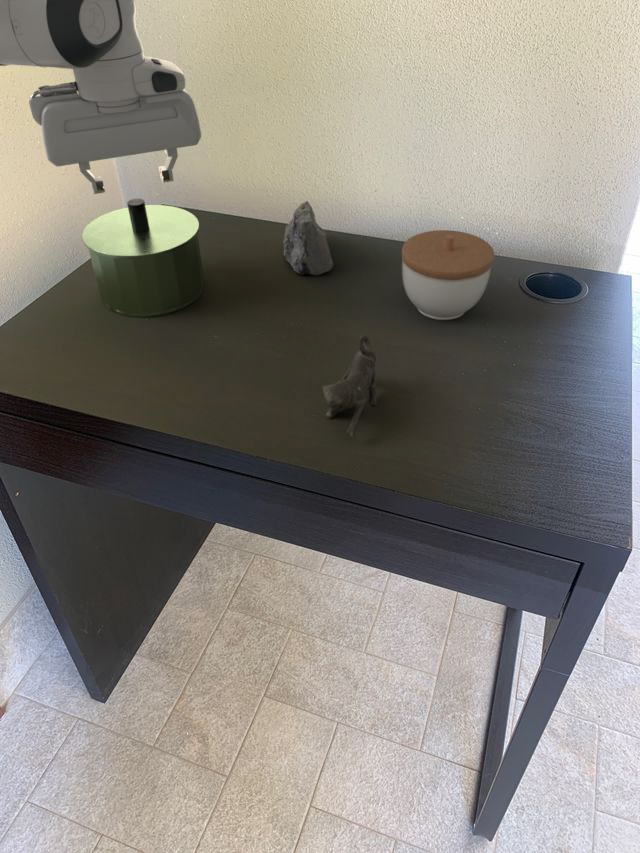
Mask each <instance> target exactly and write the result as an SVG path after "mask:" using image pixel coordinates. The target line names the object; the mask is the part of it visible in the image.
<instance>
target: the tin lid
mask: <svg viewBox="0 0 640 853" xmlns="http://www.w3.org/2000/svg"><path fill="white" fill-rule="evenodd" d="M126 204H127V207H123V208H120V209H119V208H118V209H116V210H112V211H109V212H107V213H104V214H102V215H100V216H98V217H96V218H95V219H93V220H91V221H90V222H89V223H88V224H86V226H85V227H84V229H83V230H82V233H81V240H82V243H83V245H84V247H85V248H86V249H87V250H88V249H89V250H90V251H92V252H93V253H95V254H98V255H101V256H105V257H109V258H116V259H141V258H149V257H155V256H159V255H163V254H166V253H170V252H172V251H175V250H177V249H180V248H182V247H183V246H185V245H187V244H188V243H190V242H191V241H192V240H193V239H194V238H195V237H196V236H197V234H198V235H199V232H200V222H199V220H198V218H197V217H196V215H194V214H193V213H191V212H190V211H188V210H185V209H183V208H181V207H176V206H173V205H172V206H171V205H164V204H146V202H145V200H144V199H143V198H132V199H129V200H128V201H127V202H126ZM89 250H88V251H89Z"/></svg>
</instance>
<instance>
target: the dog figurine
mask: <svg viewBox="0 0 640 853" xmlns="http://www.w3.org/2000/svg"><path fill="white" fill-rule="evenodd" d="M357 345H358V349H359V350H358V351H357V352H356V353H355V354H354V356H353V358H352V360H351V363H350V365H349V366H348V368H347V370H346V372H345V373H344V374H343V375H342V377H341V379H340V380H338V382H335V383H331V384H325V385H323V386H322V392H323V396H324V397H323V398H324V400H325V402H326V405H327V406H329V408H328V411H327V412H326V414H325V416H326V418H328V419H333V418H335V416H337V414H338V413H339V411H340V410H342V409H343V408H344V409H345V410H351V409H353V408H354V410H353V414H352V415H353V416H352V418H351V421H350V423H349V427H348V428H347V430H346V434H347V436H349V437H352V438H353V437H355V436H356V434H357V431H356V430H357V428H358V424H359V420H360V417H361V415H362V412H363V410H364V409H365V406H366V404H367V401H368V405H369V406H376V405H377V404H378V401H377V383H376V361H377V358H376V354H375V352H374V351H373V350H372V349H371V340H370V339H369V337H368V336H366V334H364V335H361V336H360V337H359V339H358V344H357Z"/></svg>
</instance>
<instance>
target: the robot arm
mask: <svg viewBox="0 0 640 853" xmlns="http://www.w3.org/2000/svg"><path fill="white" fill-rule="evenodd" d="M136 14H137V6H136V0H0V67H6V66H19V67H28V68H29V67H30V68H42V69H46V68H47V69H48V68H50V69H64V70H65V69H67V70H72V73H73V77H74V81H71V82H62V83H58V84H54V85H42V86H39V87H38V88H37V90H35V91H34V92H33V93H31V95H30V97H29V103H28V104H29V107H30V112H31V115H32V119H33V120H34V121H35V122H36V123H37V124H38V125H39V126H40V128H41V136H42V143H43V145H44V150H45V155H46V158H47V161H48V162H50V163H51V164H52V165H54V166H55V167H64V166H70V165H77V167H78V169H79V171H80V173H81V174H82V175H83V176H84V177H85V178H86V180H88V181H89V182H90V184H91V189H92V192H93V194H94V195H99V194H104V193H106V190H105V187H104V186H105V185H104V180H103V178H102V176H101V175H98V176H95V175H94V174H93V173H92V172H91V171H90V170H91V169H92V168H91V165H90V163H91V162H96V161H103V160H110V159H114V158H121V157H130V156H135V155H136V156H137V155H143V154H147V153H155V152H160V151H164V153H165V154H166V158H165V162H164V165H160V166H158V170H159V173H160V174H159V176H160V179H161V181H162V183H163V184H164V183H169V182H174V175H173V169H174V167H175V165H176V162H177V160H178V157H179V154H178V149H181V148H185V147H186V148H187V147H193V146H197V145H198V144H199V143H200V141H201V138H202V130H201V124H200V119H199V114H198V111H197V108H196V104H195V102H194V100H193V98H192V96H191V95H190V94H189V92H188V91H187V90H186V89H185V88H186V77H185V75H184V72H183V71H182V70H181V69H180V67H178V66H177V65H176V64H175V63H173V62H171V61H169V60H166V59H161V58H156V57H153V56H152V57H151V56H148V55H145V53H144V52H145V51H144V47H143V43H142V41H141V38H140V36H139V34H138V30H137V25H136V24H137V23H136Z"/></svg>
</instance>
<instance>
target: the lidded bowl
mask: <svg viewBox="0 0 640 853" xmlns="http://www.w3.org/2000/svg"><path fill="white" fill-rule="evenodd" d="M401 259H402V260H401V275H402V285H403V288H404V291H405V294H406V296H407V298H408V300H409V301H410V302H411V304H412V305H413V306H414V307H416V310H418V312H419V313H420V314H421V315H423V316H425V317H427V318H430V319H433V320H437V321H439V320H440V321H449V320H450V321H451V320H455V319H458V318H460V317H462V316H463V315H465V313H466V312H467V311H469V310H471V309H472V308H473V307H475V306H476V304H478V302H479V301H480V300H481V298H482V297H483V295H484V293H485V291H486V289H487V286H488V283H489V281H490V278H491V273H492V272H491V271H492V266H493V264H494V260H495V251H494V248H493V247H492V246H491V245H490V244H489V242H488V241H486V240H485V239H483V238H481V237H479V236H477V235H474V234H472V233H469V232H463V231H457V230H451V229H449V230H447V229H439V230H437V229H435V230H429V231H424V232H421V233H417V234H415V235H413V236H411V237H410V238H408V239H407V240H406V241H405V242H404V243H403V245H402V248H401Z"/></svg>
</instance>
